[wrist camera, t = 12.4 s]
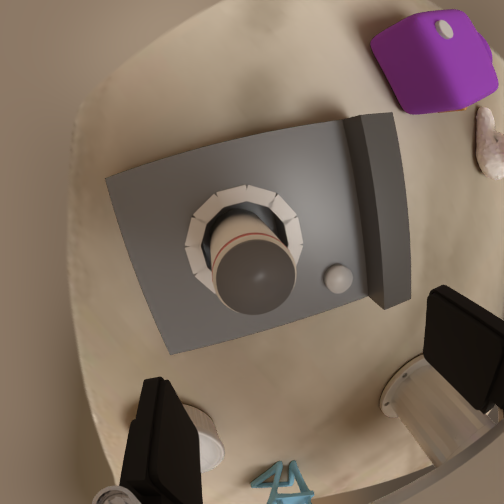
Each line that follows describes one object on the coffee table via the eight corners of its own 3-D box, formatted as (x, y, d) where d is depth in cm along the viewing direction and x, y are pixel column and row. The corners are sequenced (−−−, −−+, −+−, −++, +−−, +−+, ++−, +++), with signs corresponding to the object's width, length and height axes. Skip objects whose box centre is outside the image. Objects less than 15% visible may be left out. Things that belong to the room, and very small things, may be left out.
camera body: (351, 120, 25) (392, 112, 19) (373, 272, 30) (410, 298, 24) (119, 176, 24) (91, 180, 17) (173, 332, 29) (167, 375, 22)
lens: (260, 202, 25) (291, 227, 17) (271, 257, 27) (303, 305, 18) (203, 216, 25) (202, 249, 16) (217, 270, 27) (224, 326, 18)
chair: (308, 459, 40) (330, 514, 28) (290, 482, 41) (307, 533, 30) (264, 460, 38) (281, 521, 26) (249, 484, 40) (262, 538, 28)
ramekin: (236, 413, 34) (242, 444, 29) (197, 455, 35) (199, 483, 30) (154, 382, 30) (149, 415, 25) (125, 430, 32) (119, 459, 27)
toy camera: (464, 82, 26) (521, 75, 16) (411, 132, 27) (479, 130, 17) (418, 12, 22) (470, -13, 13) (352, 49, 23) (410, 15, 14)
